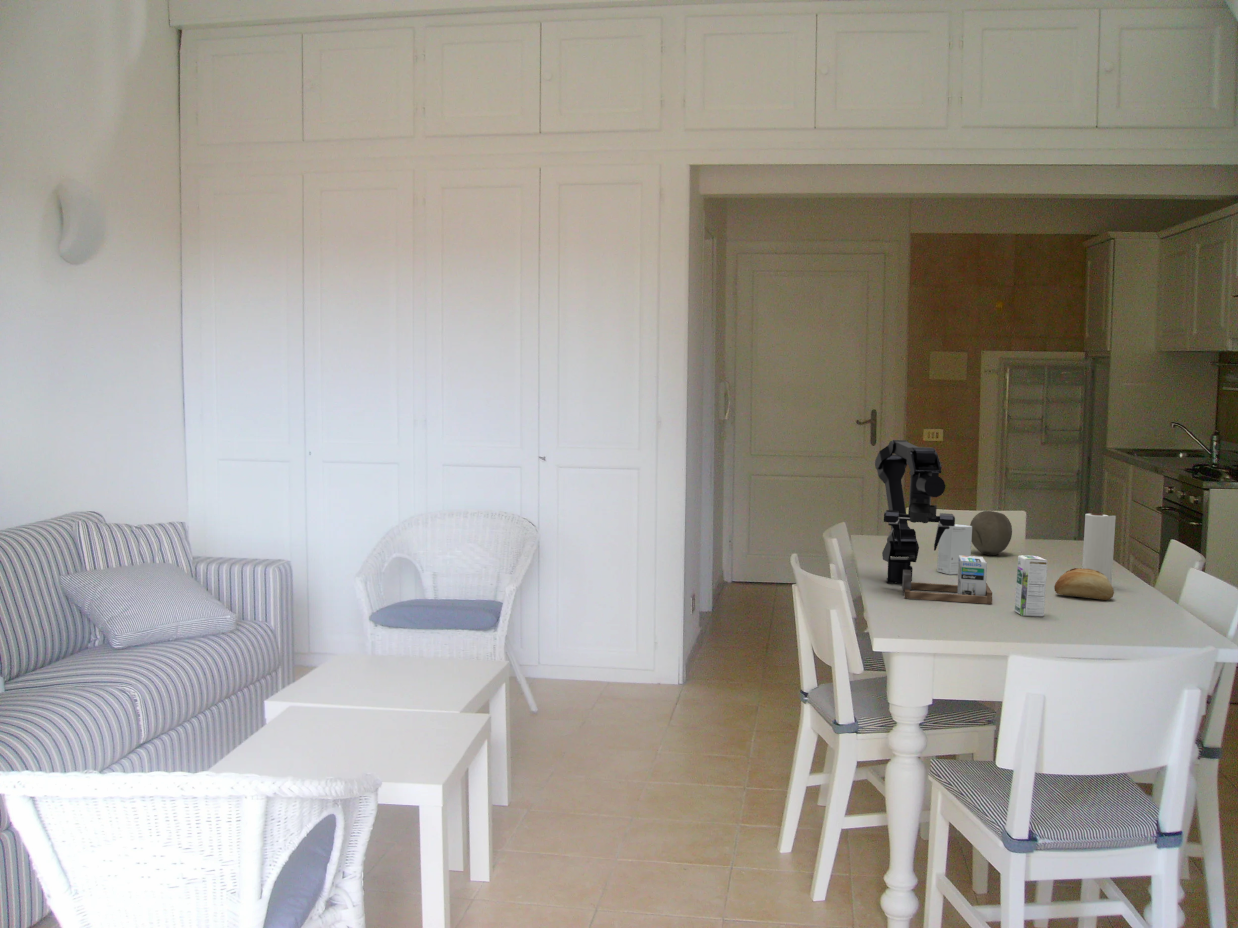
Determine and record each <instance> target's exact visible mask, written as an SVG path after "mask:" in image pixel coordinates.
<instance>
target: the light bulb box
mask: <svg viewBox="0 0 1238 928" xmlns="http://www.w3.org/2000/svg"><path fill="white" fill-rule="evenodd" d="M987 572H988V562H987V561H986V560H985V558H984V557H983V556H974V555H973V556H972V555H971V556H963V555H959V565H958V574H957V585H958V592H956V594H962V595H977V596H986V583H987Z"/></svg>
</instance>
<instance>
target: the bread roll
mask: <svg viewBox="0 0 1238 928" xmlns="http://www.w3.org/2000/svg"><path fill="white" fill-rule="evenodd" d="M1053 587H1054V592H1055V594H1057V595H1060V596H1065V597H1075V598H1076V597H1077V598H1084V599H1086V598H1087V599H1093V600H1095V599H1096V600H1100V601H1109V600H1111V599H1112V598H1113V596H1114V594H1115V592H1114V591H1115V590H1114V587H1113V585H1111V583H1110V581H1109V580H1108V578H1107V577H1106V576H1105V575H1104V574H1103V573H1100V572H1099V571H1096V570H1092V569H1082V567H1081V568H1078V567H1073V568H1071V569H1069V570H1066V571H1065V572H1064V573H1063V574H1062V575H1060V576H1059V577H1058V578H1057V580H1056V582H1055V584H1054V586H1053Z"/></svg>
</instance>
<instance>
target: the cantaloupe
mask: <svg viewBox="0 0 1238 928" xmlns="http://www.w3.org/2000/svg"><path fill="white" fill-rule="evenodd" d="M969 526H972V541H971V545H973V547H974V548H975V549H976V550H977V551H979V552H980V553H981V554H984V555H987V556H996V555H998V554H1001V553H1002V552H1003V551H1005V549H1007V547H1008V546H1009V544H1010V542H1011V540H1012V537H1013V536H1012V535H1013V527H1012V523H1011V521H1010V519H1009V518H1008V516H1006V515H1005V514H1004V513H1001V512H997V511H992V510H983V511H980V512H978V513H976V514H975V515H974V516H973V518H972V519H971V521H970V524H969Z"/></svg>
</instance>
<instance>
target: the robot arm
mask: <svg viewBox="0 0 1238 928" xmlns="http://www.w3.org/2000/svg"><path fill="white" fill-rule="evenodd" d="M874 466H875V469H876V472H877V476H878V478H879V479H880V480H881V481H882V483H884V485H885V492H886V501H887V507H888V509H885V511H884V512H883V523H888V526H889V527H890V529H891V530H890V531H889V534H888V536H887V537H886V543H885V546H884V548H883V550H882V552H881V553H882V556H881V557H882V560H883V561H885V562H887V576H886V583H887V584H899V585H902V582H903V570H911V574H912V575H913V566H912V565H911V563H917V559H918V555H919V552H920V551H919V549H920V546H919V542H918V539H917V532H916V530H915V528H911V527H910V526H909V524H908V522H911V523H922V524H928V523H937V526H936V527H937V528H936V532H935V538H934V543H933V551H937V549H938V546H939V540H940V538H941V536H942V534H943V532H944V531H945V529H949V528H950V527H949V526H955V524H956V517H955V515H954V514H953V513H946V512H945V513H943V512H940V513H939V515H937V508H938V507H937V505H936V504H935V505H933V504H931V503H932V501H931V500H932V498H937V497H938V498H939V497H941V496H942V495H943V494H944V493H945V490H946V484H945V480H944V479H943V477H941V476H940V474H942V468H943V466H942V464H941V460H940V457H939V455H938V452H937V451H936V448H934V447H927V446H926V447H925V446H924V447H921V446H917V445H915V444H912V443H910V442H909V441H908V440H904V439H903V440H902V439H893V440H889V443H888V444H887V445H886V446H884V447H883V448H882V449H881V450H879V452H878V453H877V456H876V457H875V462H874ZM907 467H908V468H909V473H908V474H909V475H910V477H909V478H910V479H909V480H910V481H909V497H908V498H909V499H908V502H909V503H908V509H906V503H905V497H904V489H903V483H902V479H903V478H904V476H905V473H906V470H907V469H906V468H907ZM906 510H908V512H907V511H906ZM912 581H913V578H912V579H911V582H912Z"/></svg>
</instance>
